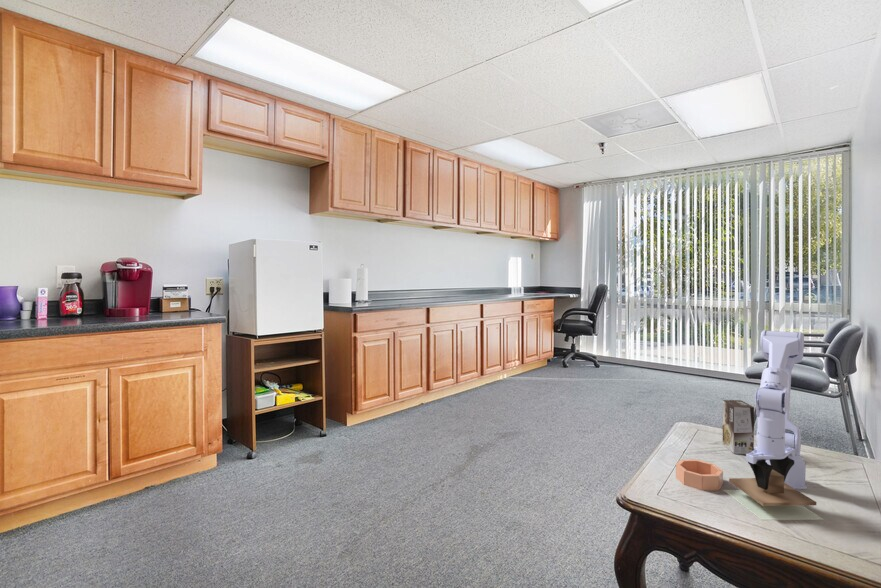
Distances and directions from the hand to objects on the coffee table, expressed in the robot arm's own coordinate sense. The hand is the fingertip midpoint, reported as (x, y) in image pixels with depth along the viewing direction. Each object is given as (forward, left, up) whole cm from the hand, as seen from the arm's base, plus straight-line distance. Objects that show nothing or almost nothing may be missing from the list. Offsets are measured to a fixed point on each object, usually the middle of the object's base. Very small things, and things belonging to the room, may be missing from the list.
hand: (770, 486), depth 114 cm
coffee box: (-16, -37, -5) cm, 41 cm away
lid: (0, 0, -2) cm, 2 cm away
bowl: (+11, -13, -5) cm, 18 cm away
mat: (0, 0, -5) cm, 5 cm away
